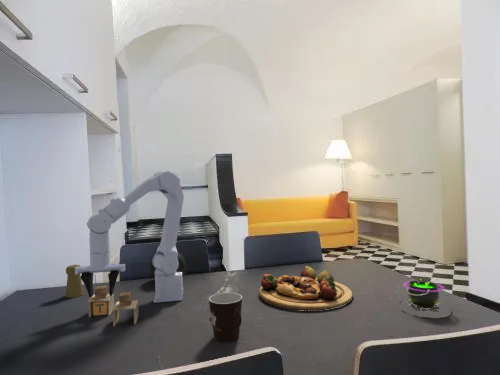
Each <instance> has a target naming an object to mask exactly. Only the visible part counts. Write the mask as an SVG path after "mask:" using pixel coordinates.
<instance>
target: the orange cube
mask: <svg viewBox="0 0 500 375" xmlns="http://www.w3.org/2000/svg"><path fill="white" fill-rule="evenodd" d="M106 315H108V301H99V302H93V314H92V316H94V317H95V316H106Z"/></svg>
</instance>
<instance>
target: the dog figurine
mask: <svg viewBox="0 0 500 375" xmlns="http://www.w3.org/2000/svg"><path fill="white" fill-rule="evenodd" d="M238 281H239V278H238V273H237V272H233V273H232V274H231V272H230V271H226V273H225V276H224V283H223V285H222V286H221V287H220V289H219V290H217V291H216V292H215V294H219V293H237V294H239V293H238V292H239V291H238V287H237V284H238Z"/></svg>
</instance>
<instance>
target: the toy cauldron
mask: <svg viewBox="0 0 500 375" xmlns="http://www.w3.org/2000/svg"><path fill="white" fill-rule="evenodd" d="M418 272H420V271H417V272H415V275H418ZM423 272H426V273H427V271H426V270H425V271H423ZM428 275H431V273H430V272H428ZM412 276H413V274H412V275H410V277H412ZM421 276H426V277H427V274H421ZM429 278H430V279H431V278H433V276H429ZM435 279H436V280H434V281H429V280H422V278H420V279H419V280H408V281H404V282H403V284H402V286H403V287H405V288H406V294H407V295H408V298H409V299H407V300H408V301H409V302H407V303H408V306H409V307H412V308H413V310H416V311H420V308H422V307H423V308H431V309H428V310H430V311H433V312H439V311H438V310H437V309H440V308H439V307H434V305H435V306H439V305H438V304H439V303H438V302H439V300H440V296H441V294H440V293H441V291H444V289H446V287H445V286H444V285H441V284H439V283H437V282H436V281H438V278H437V277H435ZM407 284H408V285H407ZM439 287H440V288H439ZM411 302H413V304H415V305H417V307H415V306H414V305H413V304H411ZM436 303H438V304H436ZM422 311H427V310H426V309H422Z"/></svg>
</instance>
